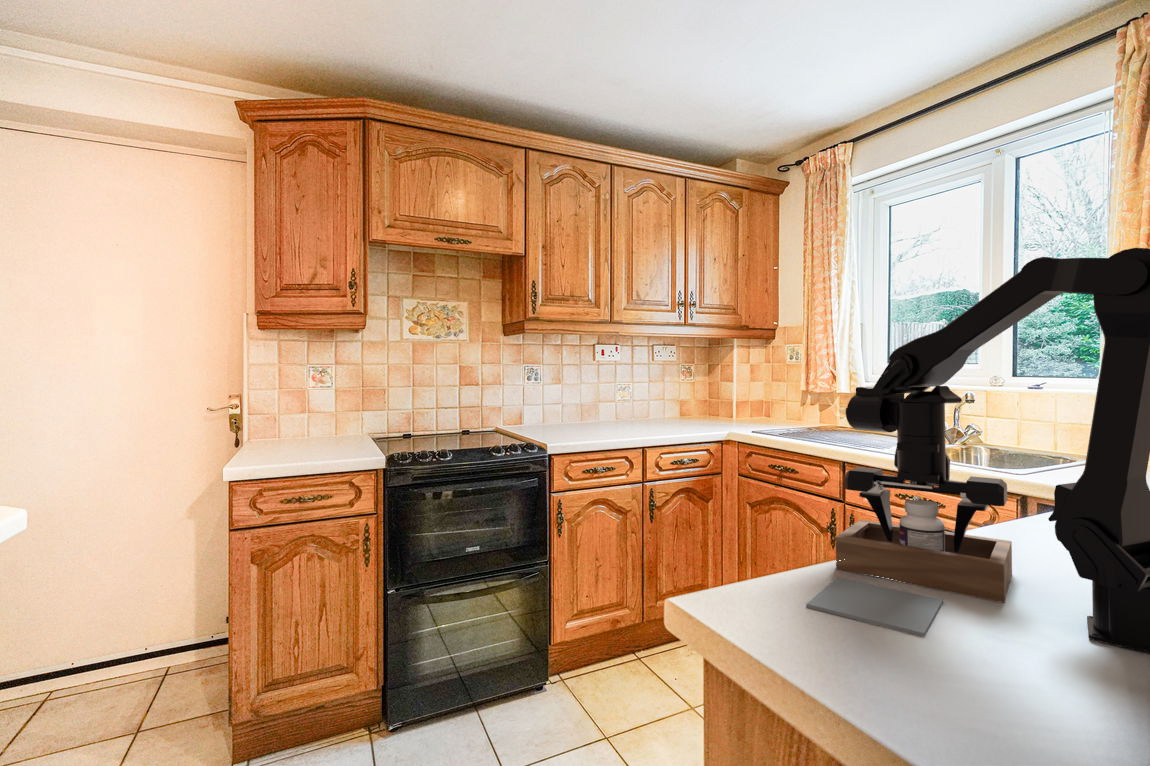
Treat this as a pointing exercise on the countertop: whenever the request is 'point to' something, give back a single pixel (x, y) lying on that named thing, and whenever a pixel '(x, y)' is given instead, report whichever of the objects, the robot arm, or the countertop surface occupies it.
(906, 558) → the slot box
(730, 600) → the countertop surface
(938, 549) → the pill bottle
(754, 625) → the countertop surface
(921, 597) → the mat
